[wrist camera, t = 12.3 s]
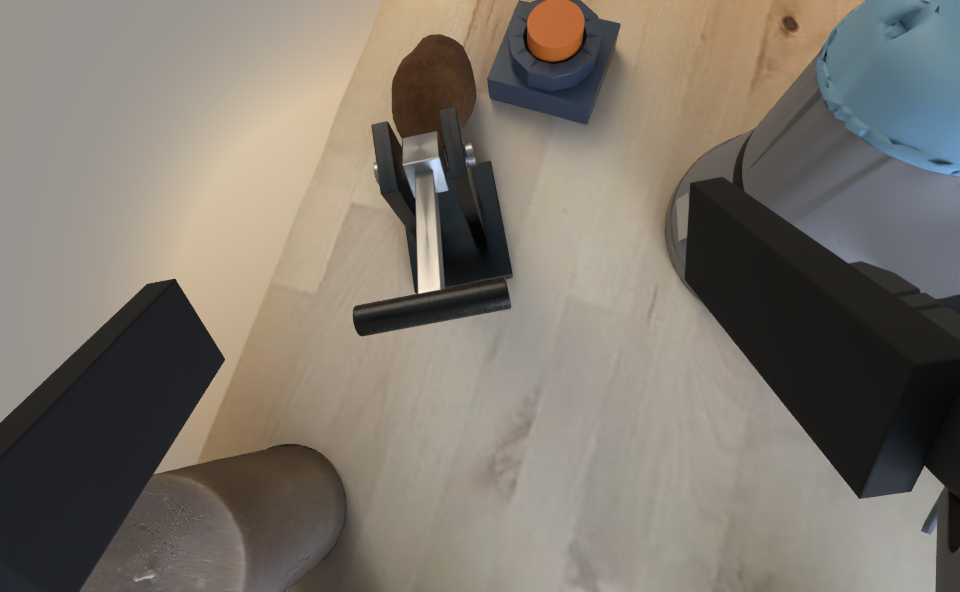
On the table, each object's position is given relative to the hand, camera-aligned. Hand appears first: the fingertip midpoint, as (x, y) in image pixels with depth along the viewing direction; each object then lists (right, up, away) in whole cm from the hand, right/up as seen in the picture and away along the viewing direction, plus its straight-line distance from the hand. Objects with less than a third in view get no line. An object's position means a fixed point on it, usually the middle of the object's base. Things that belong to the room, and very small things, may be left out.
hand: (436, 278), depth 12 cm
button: (+7, +20, +26) cm, 34 cm away
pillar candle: (-14, -17, +25) cm, 33 cm away
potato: (-2, +16, +30) cm, 34 cm away
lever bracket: (-1, +5, +28) cm, 28 cm away
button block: (+8, +19, +30) cm, 36 cm away
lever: (-1, +3, +14) cm, 14 cm away
